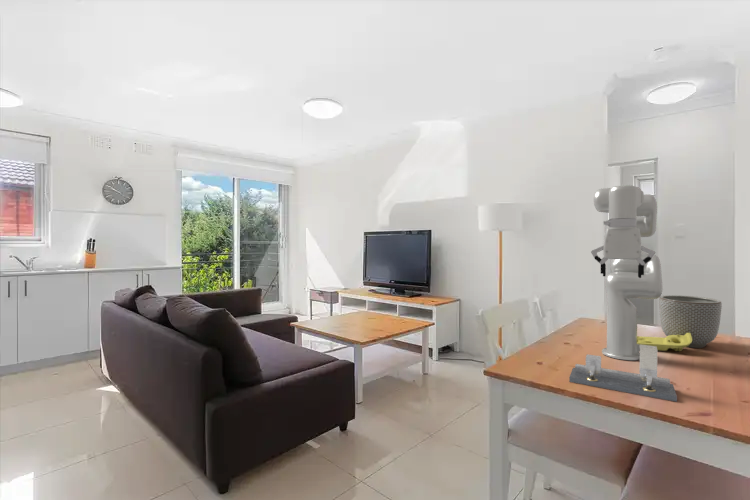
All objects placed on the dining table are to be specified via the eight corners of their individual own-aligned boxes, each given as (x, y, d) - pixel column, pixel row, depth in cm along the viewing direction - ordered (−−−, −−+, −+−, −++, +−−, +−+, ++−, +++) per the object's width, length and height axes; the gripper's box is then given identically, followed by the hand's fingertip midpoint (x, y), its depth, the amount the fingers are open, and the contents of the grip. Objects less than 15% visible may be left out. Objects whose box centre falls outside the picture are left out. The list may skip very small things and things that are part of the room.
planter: (714, 342, 156) (715, 297, 156) (726, 354, 140) (727, 304, 139) (656, 335, 167) (656, 293, 166) (660, 346, 150) (661, 300, 150)
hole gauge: (569, 381, 115) (569, 359, 115) (573, 371, 123) (573, 351, 123) (676, 401, 100) (677, 376, 100) (672, 389, 109) (673, 365, 109)
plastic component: (630, 342, 149) (628, 327, 156) (631, 357, 151) (629, 341, 159) (694, 346, 138) (689, 329, 145) (694, 362, 140) (689, 344, 148)
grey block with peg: (640, 386, 106) (640, 351, 105) (639, 377, 112) (639, 344, 112) (658, 389, 103) (658, 353, 103) (655, 380, 110) (656, 346, 110)
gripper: (590, 225, 121) (590, 276, 122) (656, 223, 112) (655, 279, 113) (591, 224, 128) (591, 274, 129) (654, 223, 118) (653, 276, 119)
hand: (621, 276), depth 121 cm, fingers open, 9 cm apart
